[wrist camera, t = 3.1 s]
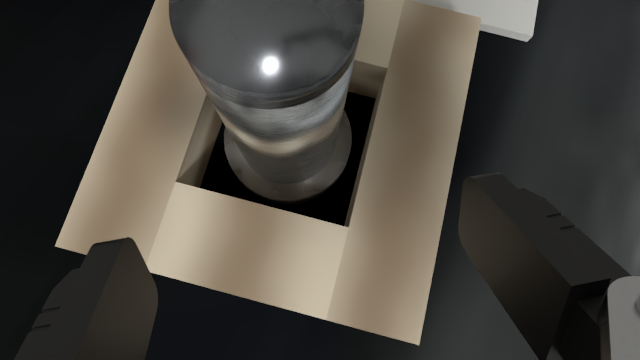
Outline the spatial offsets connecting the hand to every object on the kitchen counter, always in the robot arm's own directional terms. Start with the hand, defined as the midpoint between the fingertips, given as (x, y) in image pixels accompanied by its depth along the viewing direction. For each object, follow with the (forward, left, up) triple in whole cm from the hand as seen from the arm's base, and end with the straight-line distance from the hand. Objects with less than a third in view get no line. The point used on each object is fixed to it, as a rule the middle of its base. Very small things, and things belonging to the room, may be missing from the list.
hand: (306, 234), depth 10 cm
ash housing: (+2, -5, -11) cm, 13 cm away
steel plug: (+2, -5, -11) cm, 13 cm away
